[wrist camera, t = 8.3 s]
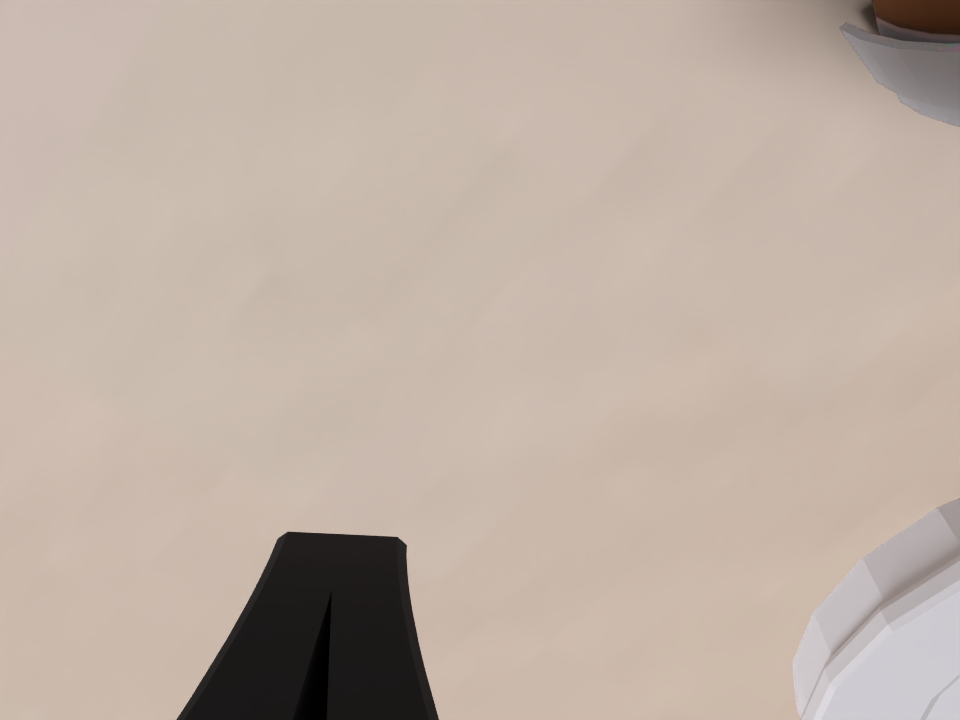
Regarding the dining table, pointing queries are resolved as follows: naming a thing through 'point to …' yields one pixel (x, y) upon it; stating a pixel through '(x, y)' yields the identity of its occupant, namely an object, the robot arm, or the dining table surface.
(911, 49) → the food container
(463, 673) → the dining table surface
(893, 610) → the lid
